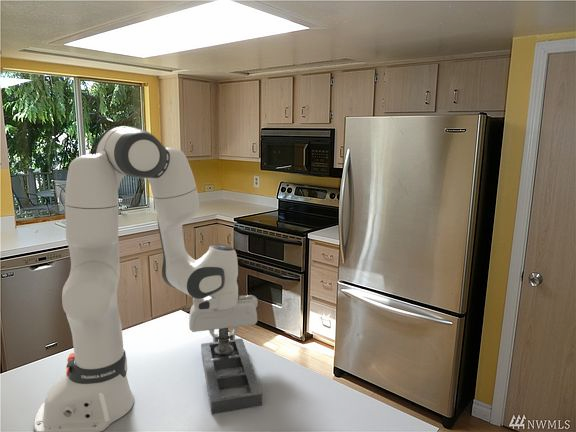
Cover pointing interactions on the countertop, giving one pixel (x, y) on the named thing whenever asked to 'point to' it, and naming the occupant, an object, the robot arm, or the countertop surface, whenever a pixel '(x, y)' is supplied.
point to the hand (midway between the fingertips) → (223, 340)
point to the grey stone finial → (223, 344)
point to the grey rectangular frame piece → (230, 378)
